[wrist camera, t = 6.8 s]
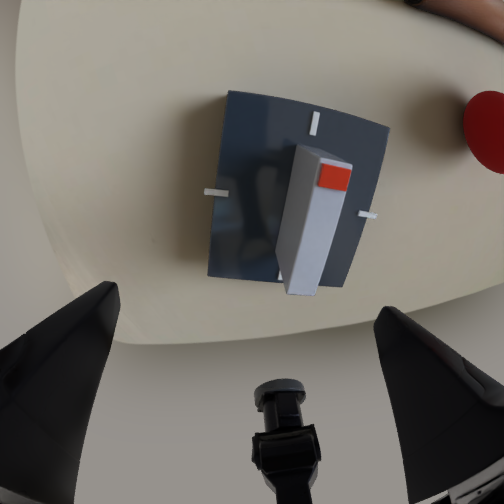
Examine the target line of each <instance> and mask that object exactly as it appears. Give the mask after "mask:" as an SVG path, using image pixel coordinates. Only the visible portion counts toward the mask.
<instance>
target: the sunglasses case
mask: <svg viewBox="0 0 504 504" xmlns="http://www.w3.org/2000/svg"><path fill="white" fill-rule="evenodd" d="M404 1H405V2H406V3H407V4H409V5H411V6H413V7H415V8H418V9H421V10H424V11H427V12H430V13H433V14H437V15H440V16H443V17H446V18H449V19H452V20H454V21H457V22H459V23H461V24H464V25H466V26H469V27H471V28H473V29H475V30H477V31H479V32H481V33H484V34H486V35H488V36H489V37H491V38H493V39H495V40H497V41H499V42H500V43H502V44H504V1H503V0H404Z"/></svg>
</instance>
